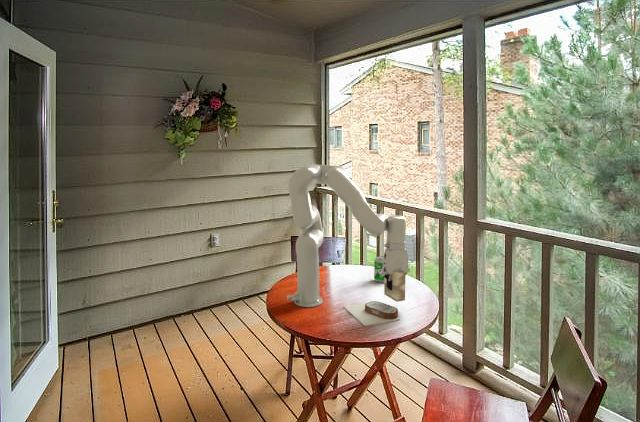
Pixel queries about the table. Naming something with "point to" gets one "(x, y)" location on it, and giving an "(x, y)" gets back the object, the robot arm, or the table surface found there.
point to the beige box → (396, 286)
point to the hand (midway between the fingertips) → (394, 287)
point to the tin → (381, 310)
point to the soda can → (378, 269)
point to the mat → (365, 315)
